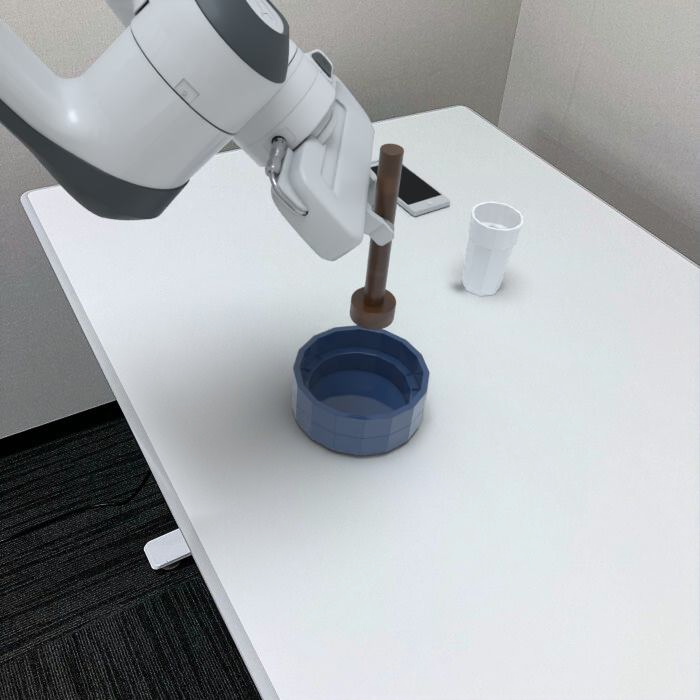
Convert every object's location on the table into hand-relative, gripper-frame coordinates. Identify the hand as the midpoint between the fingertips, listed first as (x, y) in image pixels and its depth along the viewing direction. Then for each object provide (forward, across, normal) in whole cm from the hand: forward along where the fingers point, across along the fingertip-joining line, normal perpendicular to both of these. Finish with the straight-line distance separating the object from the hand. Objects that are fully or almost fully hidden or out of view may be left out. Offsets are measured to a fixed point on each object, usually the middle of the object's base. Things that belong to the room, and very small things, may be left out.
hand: (389, 227), depth 69 cm
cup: (+28, +26, +8) cm, 39 cm away
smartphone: (+20, +50, +15) cm, 55 cm away
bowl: (+17, +1, +18) cm, 25 cm away
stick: (+7, 0, +8) cm, 10 cm away
